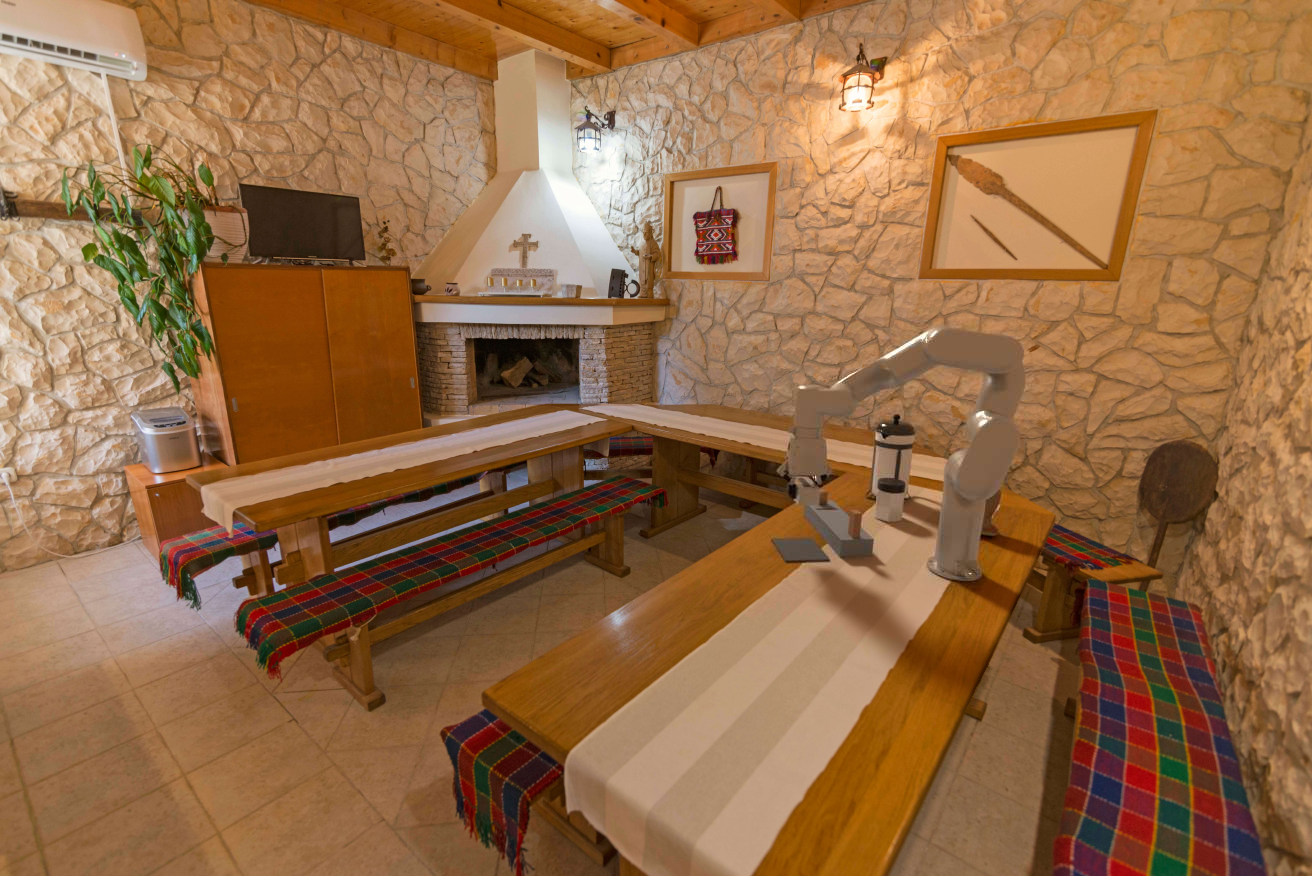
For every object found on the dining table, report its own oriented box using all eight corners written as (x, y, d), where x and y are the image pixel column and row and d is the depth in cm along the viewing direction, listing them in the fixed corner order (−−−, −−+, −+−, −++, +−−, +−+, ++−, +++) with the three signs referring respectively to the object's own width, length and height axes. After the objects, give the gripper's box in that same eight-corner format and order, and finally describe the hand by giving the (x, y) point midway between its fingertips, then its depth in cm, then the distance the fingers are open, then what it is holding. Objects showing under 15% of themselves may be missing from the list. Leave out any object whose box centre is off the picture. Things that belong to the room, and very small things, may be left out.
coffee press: (919, 507, 189) (930, 419, 181) (869, 504, 191) (878, 417, 184) (905, 490, 205) (915, 409, 198) (860, 488, 208) (867, 407, 200)
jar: (907, 518, 179) (912, 482, 176) (894, 524, 174) (898, 487, 171) (881, 510, 186) (885, 475, 183) (867, 516, 181) (871, 480, 178)
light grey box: (819, 504, 148) (820, 487, 147) (798, 505, 147) (799, 487, 146) (806, 491, 158) (807, 475, 156) (787, 492, 157) (788, 475, 156)
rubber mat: (829, 560, 150) (829, 559, 150) (785, 562, 149) (785, 560, 149) (811, 539, 163) (811, 537, 163) (771, 540, 162) (771, 538, 162)
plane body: (872, 556, 153) (876, 514, 150) (839, 557, 152) (843, 515, 149) (830, 514, 182) (833, 479, 179) (803, 515, 181) (806, 479, 178)
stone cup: (997, 528, 172) (1005, 481, 168) (997, 542, 162) (1005, 492, 158) (942, 518, 179) (948, 473, 176) (939, 531, 170) (945, 483, 166)
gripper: (779, 435, 144) (775, 502, 148) (845, 435, 145) (839, 501, 149) (771, 429, 151) (767, 493, 155) (834, 428, 152) (828, 492, 157)
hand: (802, 496), depth 152 cm, fingers closed on light grey box, 5 cm apart
